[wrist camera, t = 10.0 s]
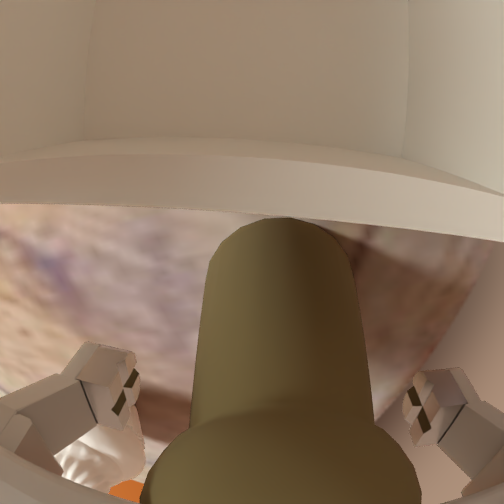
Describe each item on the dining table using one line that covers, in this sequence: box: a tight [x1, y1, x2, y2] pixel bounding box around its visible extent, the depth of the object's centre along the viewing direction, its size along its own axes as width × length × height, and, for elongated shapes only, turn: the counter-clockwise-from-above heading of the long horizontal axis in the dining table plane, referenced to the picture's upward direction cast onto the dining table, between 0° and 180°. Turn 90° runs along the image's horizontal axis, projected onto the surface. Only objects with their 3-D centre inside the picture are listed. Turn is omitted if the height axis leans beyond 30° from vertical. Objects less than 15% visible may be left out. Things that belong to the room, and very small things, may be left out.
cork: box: [140, 218, 422, 504], centre depth 8 cm, size 6×6×11 cm
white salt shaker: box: [54, 404, 146, 494], centre depth 13 cm, size 6×6×7 cm
